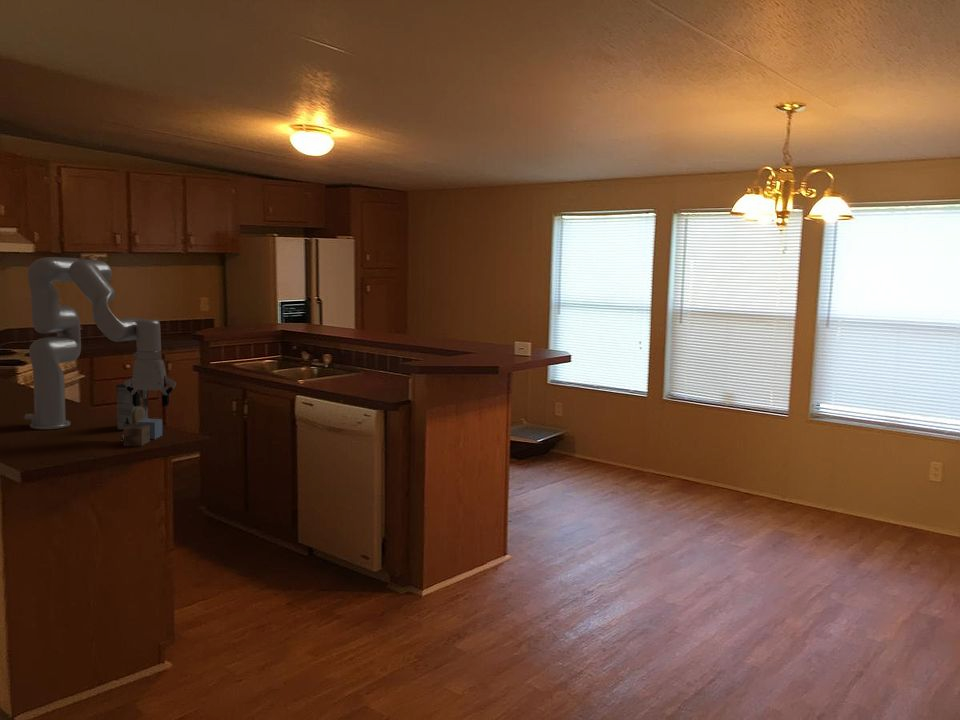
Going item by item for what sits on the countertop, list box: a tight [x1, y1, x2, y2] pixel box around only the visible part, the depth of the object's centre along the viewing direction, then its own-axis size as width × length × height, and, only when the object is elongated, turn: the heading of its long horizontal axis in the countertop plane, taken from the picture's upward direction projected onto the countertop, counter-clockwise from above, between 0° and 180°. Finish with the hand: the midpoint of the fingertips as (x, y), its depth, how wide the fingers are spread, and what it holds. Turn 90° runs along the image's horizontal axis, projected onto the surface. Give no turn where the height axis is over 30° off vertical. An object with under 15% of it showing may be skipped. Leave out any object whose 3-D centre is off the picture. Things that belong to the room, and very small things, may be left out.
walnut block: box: [122, 424, 151, 447], centre depth 251 cm, size 6×6×6 cm
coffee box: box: [116, 382, 149, 430], centre depth 274 cm, size 9×6×16 cm
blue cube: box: [137, 418, 163, 440], centre depth 261 cm, size 6×6×6 cm
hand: (151, 406), depth 260 cm, fingers open, 9 cm apart
